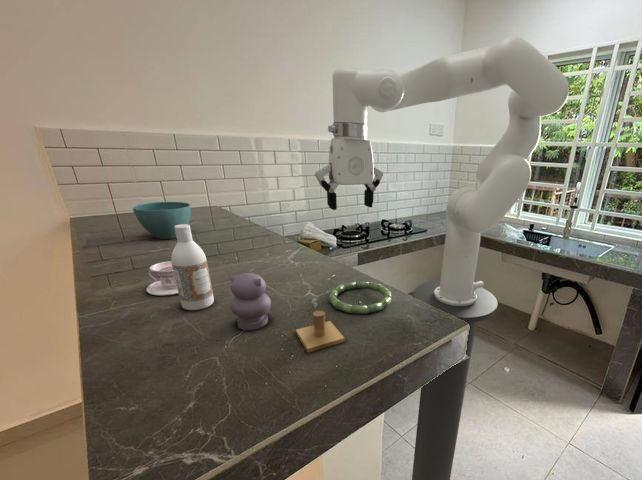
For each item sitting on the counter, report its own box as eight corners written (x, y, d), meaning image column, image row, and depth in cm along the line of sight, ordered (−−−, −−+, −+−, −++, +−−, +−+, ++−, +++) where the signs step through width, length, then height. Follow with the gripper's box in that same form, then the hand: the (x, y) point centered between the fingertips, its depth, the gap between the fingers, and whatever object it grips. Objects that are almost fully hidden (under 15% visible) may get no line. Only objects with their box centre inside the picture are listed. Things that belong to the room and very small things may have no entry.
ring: (372, 282, 98) (372, 276, 97) (403, 305, 85) (403, 299, 85) (320, 293, 89) (319, 287, 89) (345, 321, 77) (344, 313, 76)
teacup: (201, 276, 96) (197, 256, 93) (197, 292, 86) (192, 271, 83) (151, 281, 91) (146, 260, 88) (141, 299, 81) (135, 276, 79)
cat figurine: (279, 316, 77) (274, 269, 72) (261, 334, 70) (254, 283, 65) (246, 311, 78) (240, 265, 74) (225, 328, 71) (216, 278, 66)
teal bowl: (134, 235, 128) (126, 204, 123) (186, 228, 141) (180, 199, 136) (149, 246, 117) (140, 212, 112) (203, 237, 130) (197, 206, 125)
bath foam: (194, 313, 76) (176, 231, 68) (175, 306, 79) (156, 226, 71) (220, 302, 82) (206, 225, 74) (202, 295, 84) (187, 220, 77)
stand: (330, 324, 75) (329, 301, 73) (344, 341, 69) (344, 317, 67) (296, 333, 71) (293, 309, 69) (307, 352, 65) (306, 327, 62)
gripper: (319, 130, 66) (323, 213, 73) (391, 135, 75) (388, 208, 82) (307, 130, 72) (312, 206, 79) (375, 134, 81) (374, 203, 88)
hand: (351, 207), depth 80 cm, fingers open, 9 cm apart
